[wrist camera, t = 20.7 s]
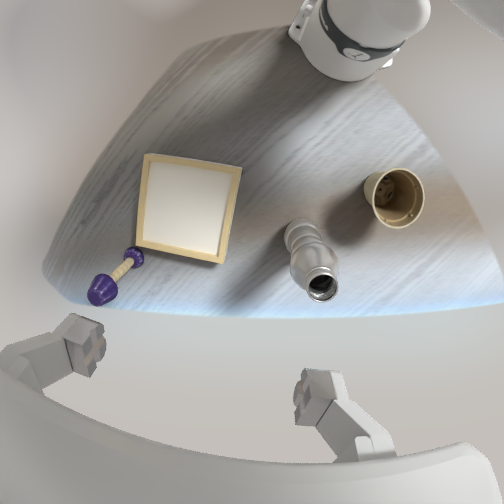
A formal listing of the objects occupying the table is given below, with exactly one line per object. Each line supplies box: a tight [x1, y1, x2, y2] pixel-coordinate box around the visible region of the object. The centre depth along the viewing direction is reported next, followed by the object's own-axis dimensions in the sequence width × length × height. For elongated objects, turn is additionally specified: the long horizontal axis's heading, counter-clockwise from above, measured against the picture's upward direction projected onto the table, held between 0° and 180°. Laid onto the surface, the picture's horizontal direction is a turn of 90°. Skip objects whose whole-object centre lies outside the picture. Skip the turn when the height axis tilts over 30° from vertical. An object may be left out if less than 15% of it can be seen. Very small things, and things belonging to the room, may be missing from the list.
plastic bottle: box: [284, 219, 339, 302], centre depth 39 cm, size 6×7×20 cm
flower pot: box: [364, 168, 425, 229], centre depth 41 cm, size 9×9×9 cm
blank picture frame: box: [136, 153, 243, 264], centre depth 46 cm, size 16×16×4 cm
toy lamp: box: [87, 247, 144, 306], centre depth 44 cm, size 5×5×17 cm
